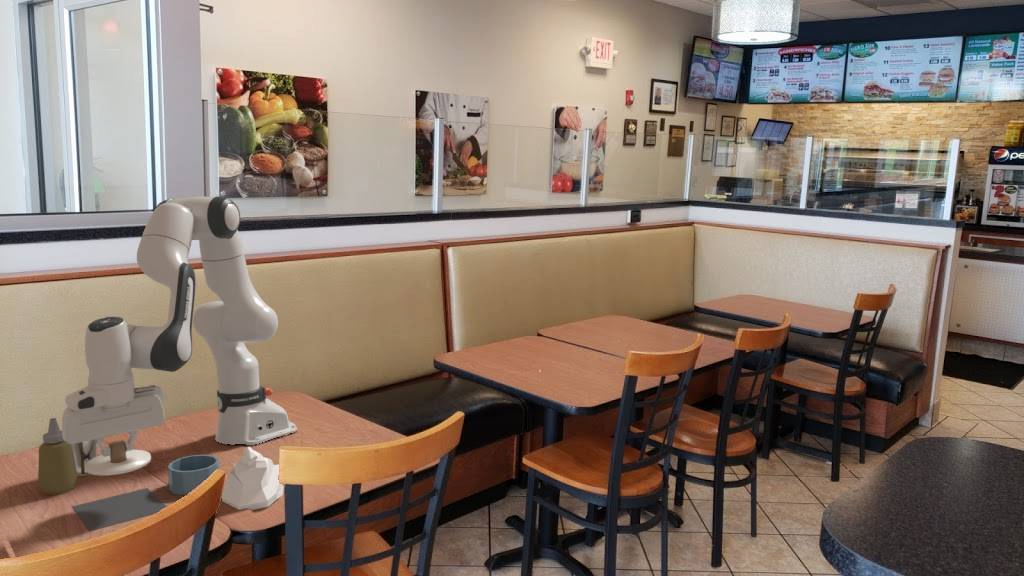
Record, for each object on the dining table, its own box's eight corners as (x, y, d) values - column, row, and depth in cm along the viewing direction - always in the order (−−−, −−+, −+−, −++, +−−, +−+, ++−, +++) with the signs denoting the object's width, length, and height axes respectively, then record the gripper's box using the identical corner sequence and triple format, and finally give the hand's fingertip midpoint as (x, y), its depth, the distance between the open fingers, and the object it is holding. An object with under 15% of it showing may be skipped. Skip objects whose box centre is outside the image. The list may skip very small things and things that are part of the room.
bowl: (210, 476, 194) (208, 451, 193) (226, 489, 186) (225, 463, 185) (163, 487, 187) (162, 462, 186) (179, 502, 179) (177, 475, 178)
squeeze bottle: (50, 486, 188) (43, 414, 185) (85, 484, 189) (78, 413, 186) (32, 499, 180) (25, 424, 178) (69, 498, 181) (62, 423, 178)
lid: (140, 448, 182) (139, 428, 181) (159, 464, 172) (157, 443, 171) (78, 463, 173) (76, 442, 172) (94, 480, 164) (92, 458, 163)
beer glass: (88, 478, 193) (83, 419, 191) (64, 475, 194) (59, 417, 192) (108, 467, 200) (103, 411, 198) (84, 465, 201) (79, 409, 199)
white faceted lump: (293, 510, 178) (286, 459, 172) (223, 526, 173) (214, 473, 167) (286, 478, 189) (280, 428, 183) (221, 491, 184) (212, 441, 178)
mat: (147, 491, 185) (147, 487, 185) (169, 512, 173) (169, 509, 173) (72, 509, 175) (71, 506, 175) (90, 534, 163) (89, 530, 163)
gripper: (157, 380, 179) (162, 438, 181) (56, 398, 166) (63, 460, 168) (166, 386, 174) (171, 445, 177) (63, 405, 161) (70, 468, 163)
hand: (117, 452), depth 172 cm, fingers closed on lid, 3 cm apart
